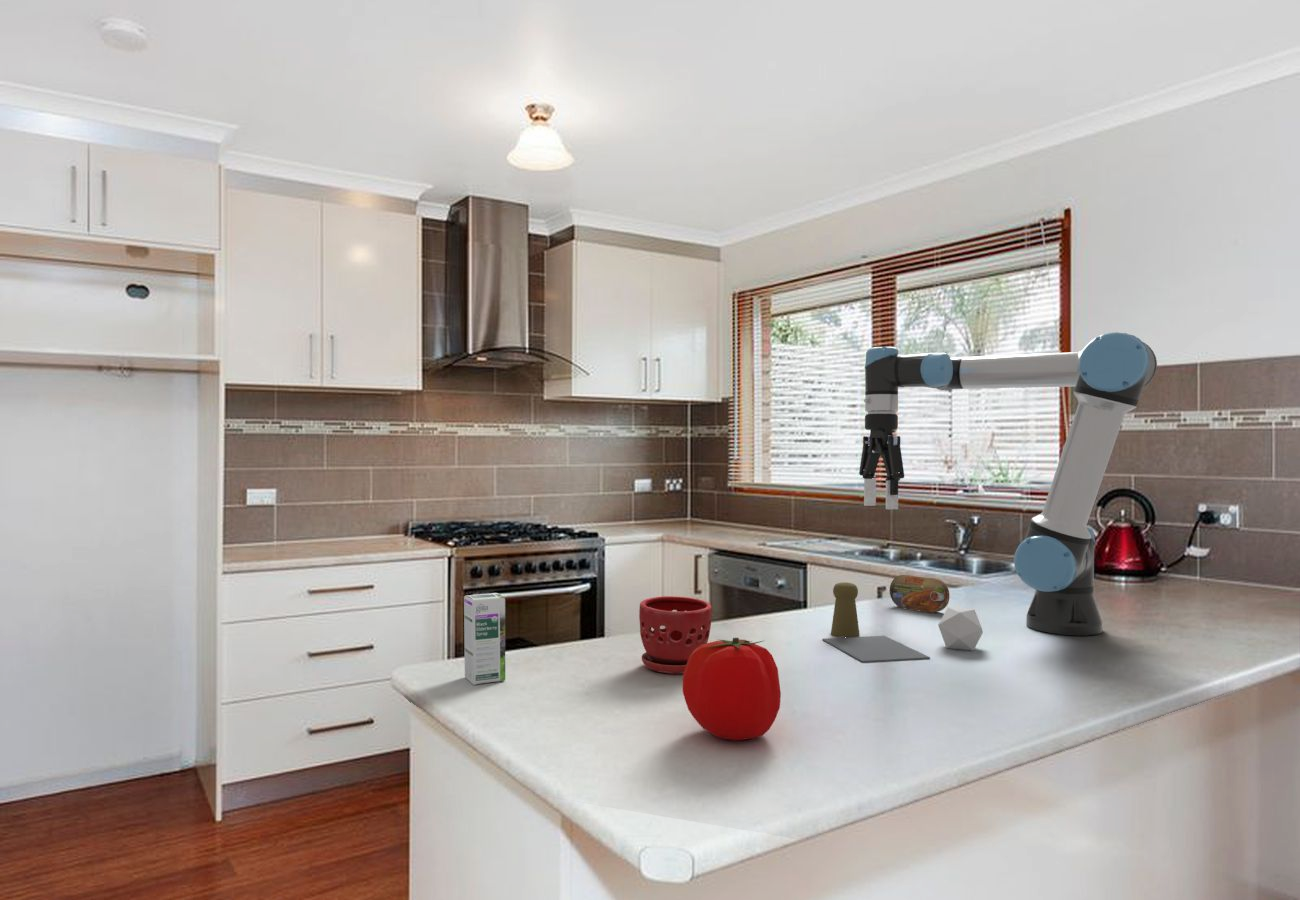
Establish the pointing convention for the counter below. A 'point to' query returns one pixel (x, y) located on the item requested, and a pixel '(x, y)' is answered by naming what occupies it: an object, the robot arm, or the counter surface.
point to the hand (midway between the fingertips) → (880, 507)
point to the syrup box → (484, 638)
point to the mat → (875, 649)
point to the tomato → (732, 688)
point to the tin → (919, 593)
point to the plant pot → (673, 631)
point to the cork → (845, 611)
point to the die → (960, 628)
